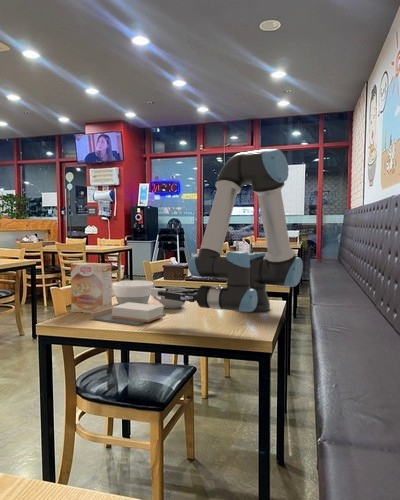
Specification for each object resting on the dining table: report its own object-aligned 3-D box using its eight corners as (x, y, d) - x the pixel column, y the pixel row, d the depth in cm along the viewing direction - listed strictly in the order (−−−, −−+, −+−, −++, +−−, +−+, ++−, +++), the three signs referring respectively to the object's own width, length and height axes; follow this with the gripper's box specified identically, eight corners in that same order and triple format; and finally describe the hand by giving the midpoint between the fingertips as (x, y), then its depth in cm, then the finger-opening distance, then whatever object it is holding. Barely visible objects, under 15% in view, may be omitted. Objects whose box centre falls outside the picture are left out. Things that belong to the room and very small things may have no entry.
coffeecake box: (70, 312, 161) (69, 263, 159) (81, 308, 167) (80, 262, 166) (102, 314, 156) (101, 264, 154) (112, 311, 162) (111, 263, 161)
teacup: (187, 305, 174) (187, 286, 174) (184, 310, 163) (184, 291, 163) (156, 304, 176) (155, 286, 175) (150, 309, 165) (150, 290, 164)
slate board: (165, 315, 154) (165, 309, 154) (138, 325, 138) (138, 319, 138) (121, 310, 164) (121, 304, 163) (90, 319, 147) (90, 313, 147)
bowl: (106, 307, 169) (106, 285, 168) (120, 300, 187) (120, 280, 186) (147, 308, 167) (147, 286, 166) (157, 300, 184) (157, 280, 184)
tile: (163, 305, 150) (128, 302, 157) (148, 310, 141) (112, 306, 148) (163, 316, 150) (128, 312, 157) (148, 322, 141) (112, 317, 148)
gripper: (219, 283, 140) (161, 279, 151) (202, 288, 129) (142, 284, 139) (219, 304, 141) (161, 299, 151) (202, 311, 129) (142, 305, 140)
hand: (152, 292), depth 145 cm, fingers closed
